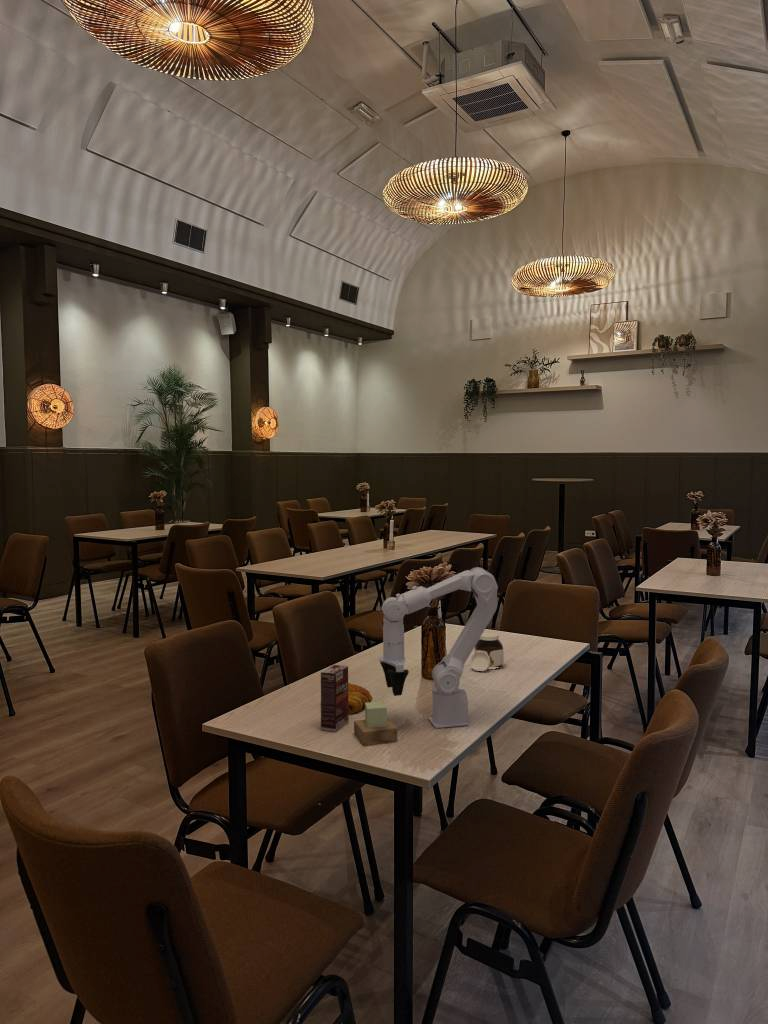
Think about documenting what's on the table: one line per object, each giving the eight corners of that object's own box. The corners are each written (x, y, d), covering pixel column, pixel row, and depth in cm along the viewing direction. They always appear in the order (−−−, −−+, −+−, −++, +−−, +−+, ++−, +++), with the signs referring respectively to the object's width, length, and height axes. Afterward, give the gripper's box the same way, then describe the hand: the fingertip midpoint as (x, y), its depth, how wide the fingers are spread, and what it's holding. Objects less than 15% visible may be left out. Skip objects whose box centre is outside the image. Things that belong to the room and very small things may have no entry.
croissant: (327, 724, 205) (327, 698, 203) (318, 700, 220) (317, 676, 218) (377, 718, 209) (376, 692, 207) (364, 695, 223) (364, 670, 222)
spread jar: (501, 664, 258) (501, 631, 257) (506, 673, 246) (506, 639, 246) (468, 664, 258) (467, 632, 257) (471, 673, 247) (471, 639, 246)
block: (386, 731, 194) (386, 716, 194) (397, 743, 185) (397, 728, 185) (354, 735, 191) (353, 720, 191) (363, 747, 183) (363, 732, 182)
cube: (384, 720, 191) (383, 701, 191) (386, 726, 186) (386, 707, 186) (365, 721, 191) (365, 702, 190) (367, 727, 186) (367, 708, 185)
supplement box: (336, 732, 192) (335, 674, 192) (320, 730, 194) (319, 672, 193) (349, 722, 200) (349, 665, 200) (334, 720, 202) (333, 664, 201)
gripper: (373, 636, 203) (374, 684, 204) (385, 649, 189) (385, 700, 189) (398, 635, 204) (398, 682, 205) (411, 647, 190) (411, 698, 191)
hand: (394, 691), depth 197 cm, fingers open, 7 cm apart
